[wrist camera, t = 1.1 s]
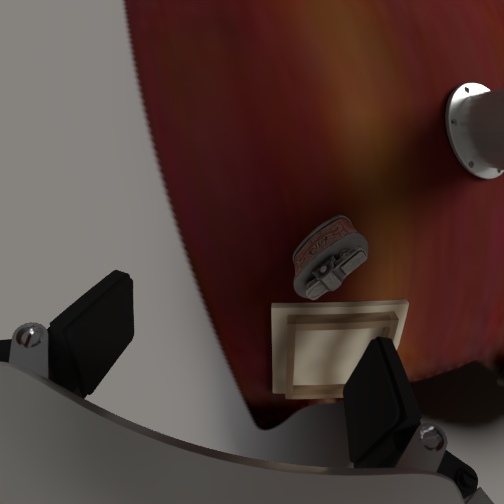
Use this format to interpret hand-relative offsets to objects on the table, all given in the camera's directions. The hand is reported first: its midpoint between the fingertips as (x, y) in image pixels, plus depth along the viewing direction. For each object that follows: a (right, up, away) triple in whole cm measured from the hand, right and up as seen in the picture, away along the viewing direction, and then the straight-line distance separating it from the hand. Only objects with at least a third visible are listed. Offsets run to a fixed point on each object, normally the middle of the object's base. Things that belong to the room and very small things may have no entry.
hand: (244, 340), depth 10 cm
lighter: (+8, +5, +22) cm, 24 cm away
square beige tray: (+12, -11, +26) cm, 31 cm away
